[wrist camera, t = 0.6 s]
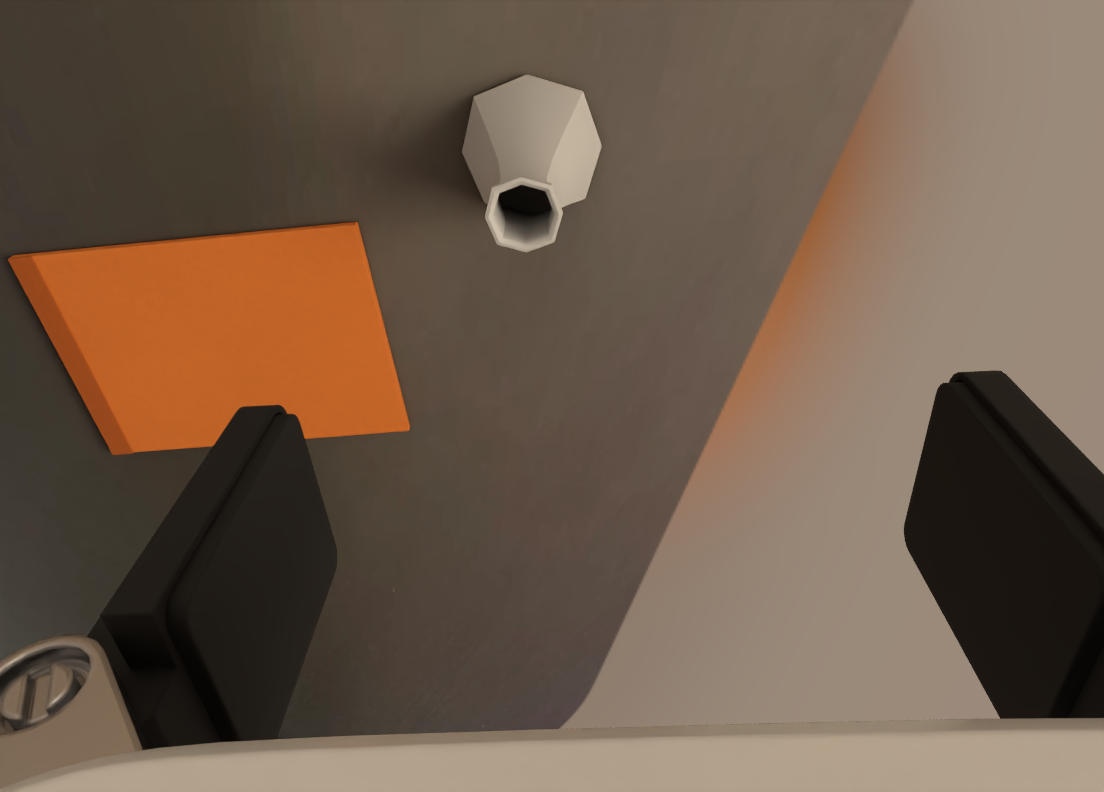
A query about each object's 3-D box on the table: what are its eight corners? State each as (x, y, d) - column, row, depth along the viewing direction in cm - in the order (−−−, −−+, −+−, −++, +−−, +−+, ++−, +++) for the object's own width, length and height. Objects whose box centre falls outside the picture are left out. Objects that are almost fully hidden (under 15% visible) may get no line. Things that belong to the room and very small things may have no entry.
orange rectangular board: (13, 254, 43) (7, 259, 42) (357, 221, 42) (355, 225, 41) (117, 449, 51) (112, 455, 50) (410, 426, 49) (408, 431, 49)
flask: (600, 69, 37) (612, 120, 29) (602, 212, 41) (612, 292, 33) (454, 76, 37) (423, 129, 29) (470, 217, 41) (446, 299, 33)
